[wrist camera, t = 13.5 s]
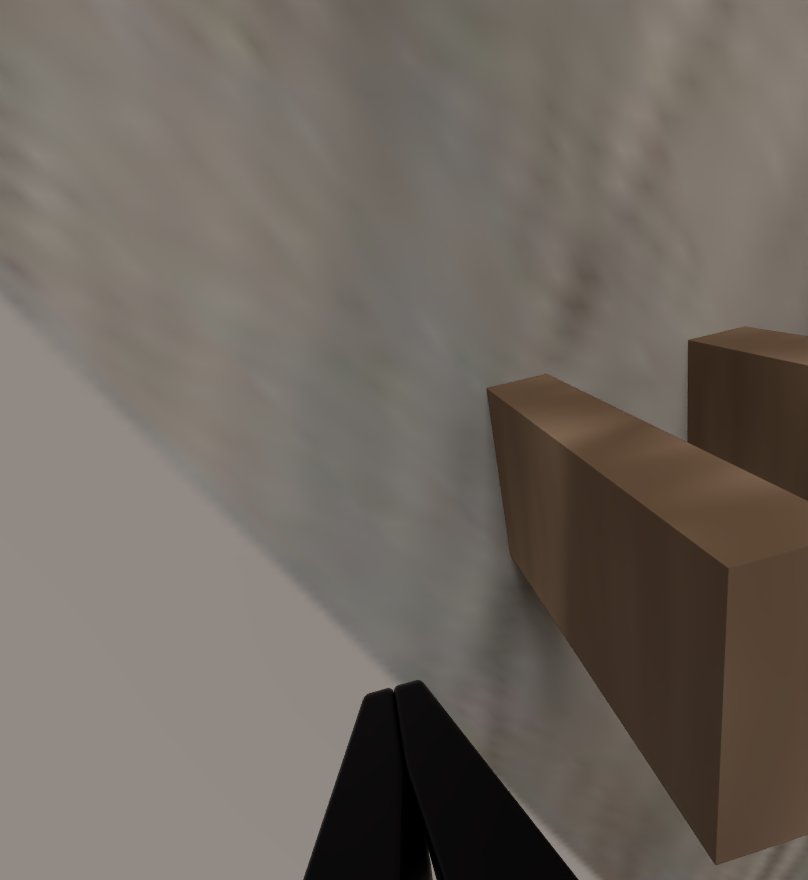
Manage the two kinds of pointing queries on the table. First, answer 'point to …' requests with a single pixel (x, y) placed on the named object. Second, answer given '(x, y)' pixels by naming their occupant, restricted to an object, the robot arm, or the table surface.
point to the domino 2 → (752, 403)
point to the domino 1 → (670, 601)
